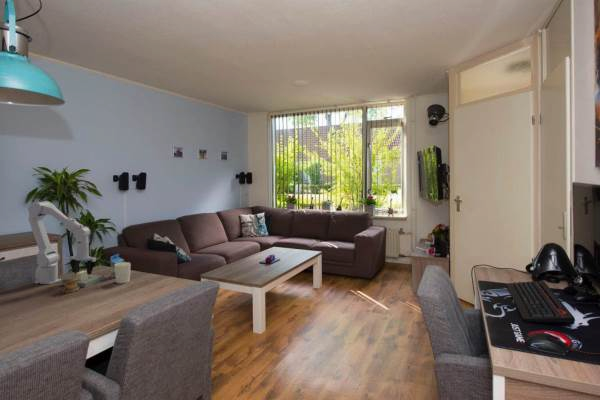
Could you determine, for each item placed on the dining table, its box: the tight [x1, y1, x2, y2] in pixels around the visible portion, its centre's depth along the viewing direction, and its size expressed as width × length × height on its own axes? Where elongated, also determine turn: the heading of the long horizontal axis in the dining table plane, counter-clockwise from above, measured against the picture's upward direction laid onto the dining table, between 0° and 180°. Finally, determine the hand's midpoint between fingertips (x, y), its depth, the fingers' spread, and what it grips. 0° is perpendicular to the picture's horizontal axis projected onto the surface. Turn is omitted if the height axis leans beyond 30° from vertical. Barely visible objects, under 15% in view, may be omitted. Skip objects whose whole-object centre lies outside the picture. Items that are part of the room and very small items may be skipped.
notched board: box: [60, 274, 105, 288], centre depth 188 cm, size 14×14×2 cm
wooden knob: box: [61, 276, 80, 294], centre depth 175 cm, size 7×7×6 cm
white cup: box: [115, 261, 131, 284], centre depth 190 cm, size 8×8×10 cm
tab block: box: [75, 270, 88, 281], centre depth 187 cm, size 3×5×6 cm, turn 172°
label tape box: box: [110, 253, 126, 279], centre depth 201 cm, size 9×4×12 cm, turn 179°
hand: (83, 273), depth 188 cm, fingers open, 7 cm apart
